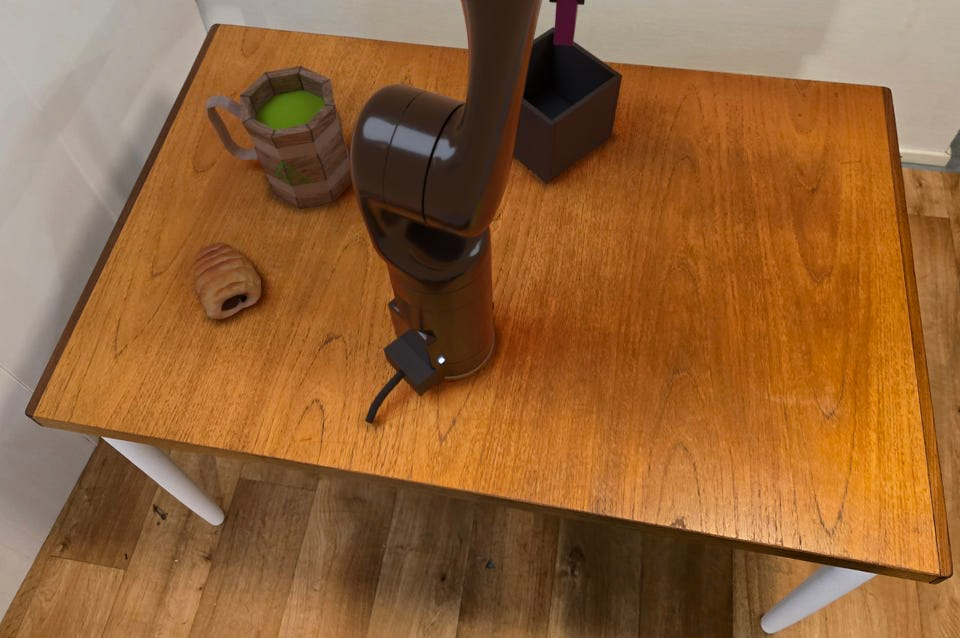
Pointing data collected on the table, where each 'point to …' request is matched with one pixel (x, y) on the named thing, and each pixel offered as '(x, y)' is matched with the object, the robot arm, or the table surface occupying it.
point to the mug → (291, 134)
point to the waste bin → (564, 107)
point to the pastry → (224, 280)
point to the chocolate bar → (565, 22)
